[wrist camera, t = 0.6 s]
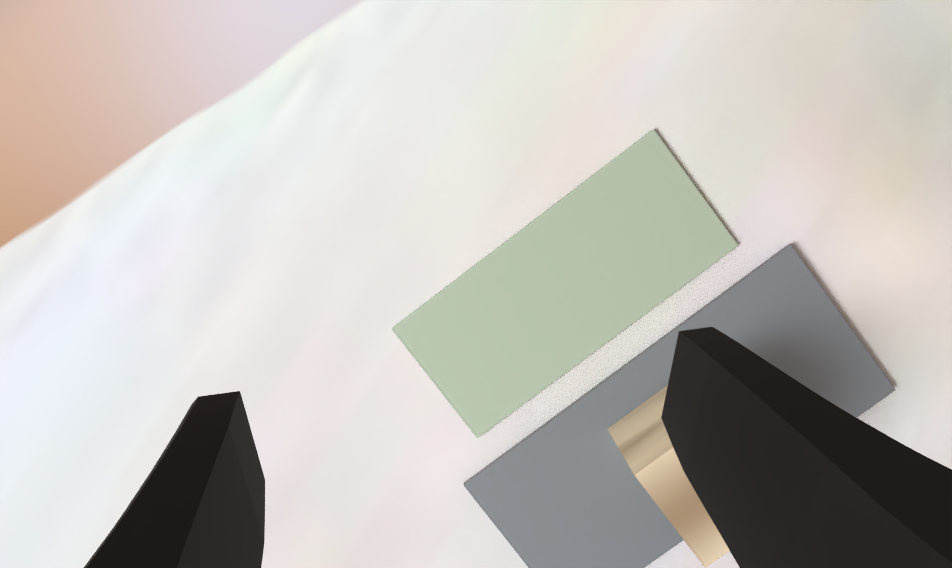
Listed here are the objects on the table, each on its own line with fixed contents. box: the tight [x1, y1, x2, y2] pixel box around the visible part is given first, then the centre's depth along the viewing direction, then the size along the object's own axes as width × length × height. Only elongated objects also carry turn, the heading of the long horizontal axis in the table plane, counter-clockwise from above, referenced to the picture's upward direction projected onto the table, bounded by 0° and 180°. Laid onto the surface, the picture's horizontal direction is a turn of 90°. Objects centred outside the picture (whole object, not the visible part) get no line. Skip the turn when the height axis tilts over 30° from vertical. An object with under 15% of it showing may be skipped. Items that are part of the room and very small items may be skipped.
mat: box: [392, 129, 738, 438], centre depth 33 cm, size 7×16×1 cm, turn 127°
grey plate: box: [464, 245, 895, 568], centre depth 33 cm, size 9×20×1 cm, turn 127°
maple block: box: [608, 385, 730, 568], centre depth 30 cm, size 5×5×6 cm
